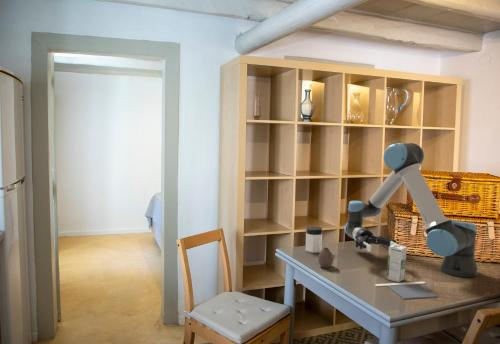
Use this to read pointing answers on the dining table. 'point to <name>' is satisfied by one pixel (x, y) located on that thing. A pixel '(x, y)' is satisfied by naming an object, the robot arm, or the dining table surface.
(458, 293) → the dining table surface
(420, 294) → the mat
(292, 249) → the dining table surface
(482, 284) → the dining table surface
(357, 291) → the dining table surface
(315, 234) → the jar
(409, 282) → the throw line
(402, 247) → the syrup box
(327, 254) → the vase
